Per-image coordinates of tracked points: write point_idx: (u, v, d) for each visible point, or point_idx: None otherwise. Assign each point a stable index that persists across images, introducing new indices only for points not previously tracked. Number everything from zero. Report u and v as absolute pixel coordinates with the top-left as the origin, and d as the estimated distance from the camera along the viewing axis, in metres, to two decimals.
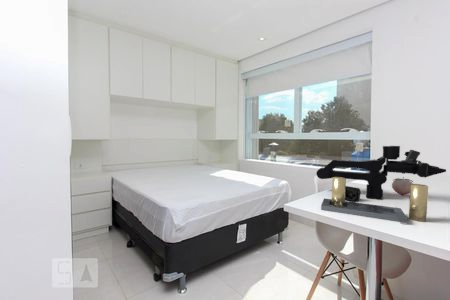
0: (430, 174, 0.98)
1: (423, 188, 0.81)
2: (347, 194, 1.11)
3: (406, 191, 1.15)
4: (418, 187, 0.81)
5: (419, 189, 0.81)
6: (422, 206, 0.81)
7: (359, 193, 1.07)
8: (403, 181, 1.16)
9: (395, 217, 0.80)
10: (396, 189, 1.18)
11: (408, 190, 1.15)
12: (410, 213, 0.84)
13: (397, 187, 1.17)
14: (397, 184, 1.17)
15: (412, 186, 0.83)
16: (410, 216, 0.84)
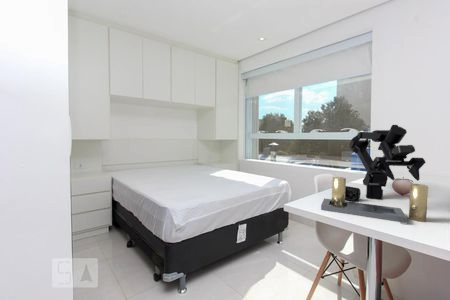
0: (381, 171, 0.96)
1: (423, 188, 0.81)
2: (347, 194, 1.11)
3: (406, 191, 1.15)
4: (418, 187, 0.81)
5: (419, 189, 0.81)
6: (422, 206, 0.81)
7: (359, 193, 1.07)
8: (403, 181, 1.16)
9: (395, 217, 0.80)
10: (396, 189, 1.18)
11: (408, 190, 1.15)
12: (410, 213, 0.84)
13: (397, 187, 1.17)
14: (397, 184, 1.17)
15: (412, 186, 0.83)
16: (410, 216, 0.84)
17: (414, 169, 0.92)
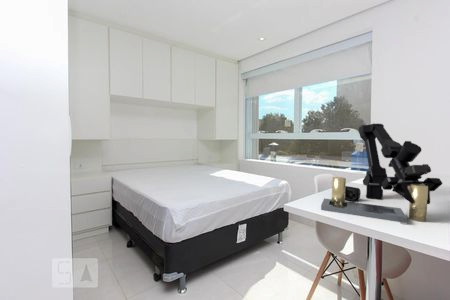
0: (398, 192, 0.87)
1: (423, 188, 0.81)
2: (347, 194, 1.11)
3: None
4: (418, 187, 0.81)
5: (419, 189, 0.81)
6: (422, 206, 0.81)
7: (359, 193, 1.07)
8: None
9: (395, 217, 0.80)
10: None
11: None
12: (410, 213, 0.84)
13: None
14: None
15: (412, 186, 0.83)
16: (410, 216, 0.84)
17: None
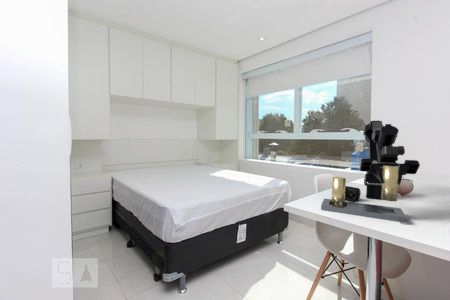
0: (374, 173, 0.91)
1: (391, 168, 0.83)
2: (347, 194, 1.11)
3: (406, 191, 1.15)
4: (387, 167, 0.84)
5: (388, 170, 0.84)
6: (391, 186, 0.83)
7: (359, 193, 1.07)
8: (403, 181, 1.16)
9: (395, 217, 0.80)
10: None
11: (408, 190, 1.15)
12: (381, 193, 0.87)
13: None
14: None
15: (383, 167, 0.86)
16: (381, 196, 0.87)
17: None
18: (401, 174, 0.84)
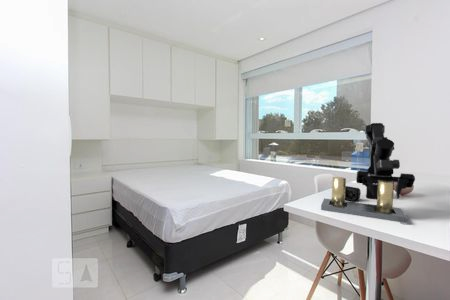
0: (366, 186, 0.92)
1: (386, 184, 0.84)
2: (347, 194, 1.11)
3: (406, 191, 1.15)
4: (382, 183, 0.85)
5: (383, 186, 0.85)
6: (385, 202, 0.84)
7: (359, 193, 1.07)
8: None
9: (395, 217, 0.80)
10: None
11: (408, 190, 1.15)
12: (376, 208, 0.88)
13: None
14: None
15: (378, 182, 0.87)
16: None
17: (397, 186, 0.86)
18: (400, 188, 0.84)
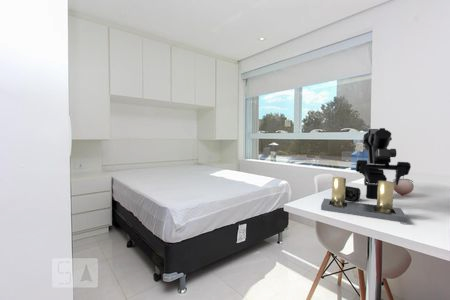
0: (363, 174, 0.98)
1: (386, 184, 0.84)
2: (347, 194, 1.11)
3: (406, 191, 1.15)
4: (382, 183, 0.85)
5: (383, 185, 0.85)
6: (385, 202, 0.84)
7: (359, 193, 1.07)
8: (403, 181, 1.16)
9: (395, 217, 0.80)
10: (396, 189, 1.18)
11: (408, 190, 1.15)
12: (376, 208, 0.88)
13: (397, 187, 1.17)
14: None
15: (378, 182, 0.87)
16: None
17: (396, 173, 0.91)
18: (399, 175, 0.90)
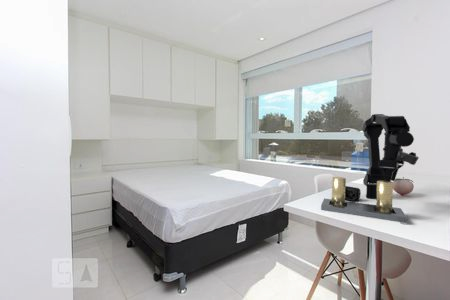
0: (382, 170, 0.92)
1: (385, 184, 0.84)
2: (347, 194, 1.11)
3: (406, 191, 1.15)
4: (380, 183, 0.85)
5: (381, 185, 0.85)
6: (385, 202, 0.84)
7: (359, 193, 1.07)
8: (403, 181, 1.16)
9: (395, 217, 0.80)
10: (396, 189, 1.18)
11: (408, 190, 1.15)
12: (376, 208, 0.88)
13: (397, 187, 1.17)
14: (397, 184, 1.17)
15: (377, 182, 0.87)
16: None
17: (395, 170, 0.98)
18: None
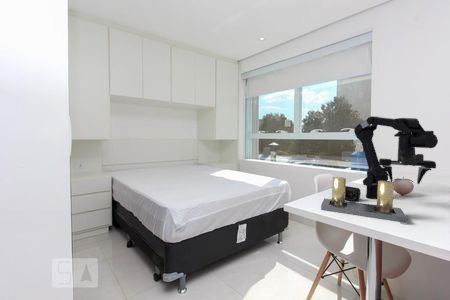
0: (386, 168, 1.02)
1: (386, 184, 0.84)
2: (347, 194, 1.11)
3: (406, 191, 1.15)
4: (381, 183, 0.85)
5: (382, 186, 0.85)
6: (385, 202, 0.84)
7: (359, 193, 1.07)
8: (403, 181, 1.16)
9: (395, 217, 0.80)
10: (396, 189, 1.18)
11: (408, 190, 1.15)
12: (376, 208, 0.88)
13: (397, 187, 1.17)
14: (397, 184, 1.17)
15: (378, 182, 0.87)
16: None
17: (420, 173, 0.94)
18: (422, 176, 0.94)
